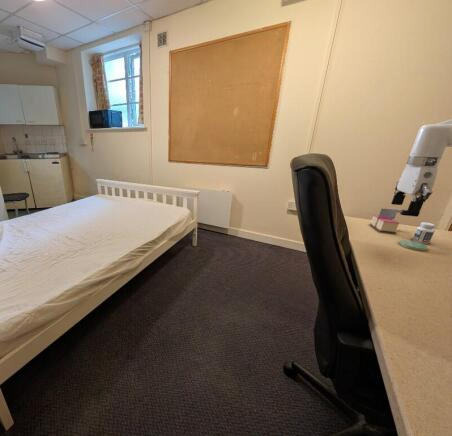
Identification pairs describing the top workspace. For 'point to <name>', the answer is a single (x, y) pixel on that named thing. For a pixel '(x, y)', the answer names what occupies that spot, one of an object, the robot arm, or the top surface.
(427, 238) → the pill bottle
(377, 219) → the cake slice
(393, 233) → the cake board
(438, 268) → the top surface
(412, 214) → the knife
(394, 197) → the robot arm
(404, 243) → the plate
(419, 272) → the top surface
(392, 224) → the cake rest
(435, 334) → the top surface
